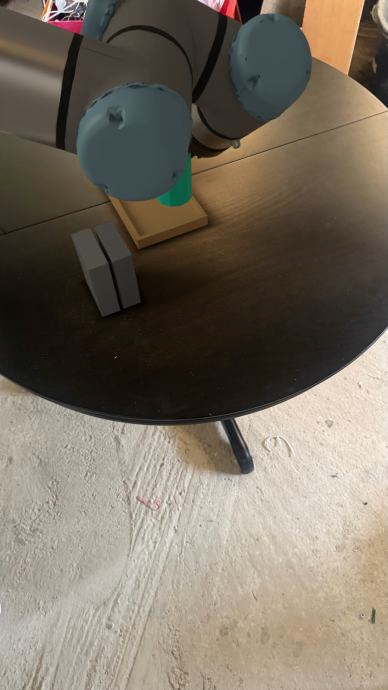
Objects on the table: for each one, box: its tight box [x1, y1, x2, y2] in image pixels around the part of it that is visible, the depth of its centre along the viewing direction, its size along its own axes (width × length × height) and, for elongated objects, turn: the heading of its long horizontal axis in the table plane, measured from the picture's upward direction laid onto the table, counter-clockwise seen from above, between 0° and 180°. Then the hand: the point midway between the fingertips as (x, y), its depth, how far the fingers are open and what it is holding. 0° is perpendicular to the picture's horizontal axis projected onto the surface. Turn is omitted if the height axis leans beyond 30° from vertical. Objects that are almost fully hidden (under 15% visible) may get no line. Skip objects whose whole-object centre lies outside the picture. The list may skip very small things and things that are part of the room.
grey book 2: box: [93, 220, 142, 309], centre depth 74 cm, size 8×3×11 cm, turn 26°
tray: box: [106, 194, 209, 250], centre depth 91 cm, size 28×14×2 cm, turn 26°
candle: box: [157, 153, 193, 207], centre depth 72 cm, size 6×6×12 cm
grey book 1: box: [70, 227, 121, 318], centre depth 73 cm, size 8×3×11 cm, turn 26°
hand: (162, 163), depth 76 cm, fingers closed on candle, 5 cm apart
